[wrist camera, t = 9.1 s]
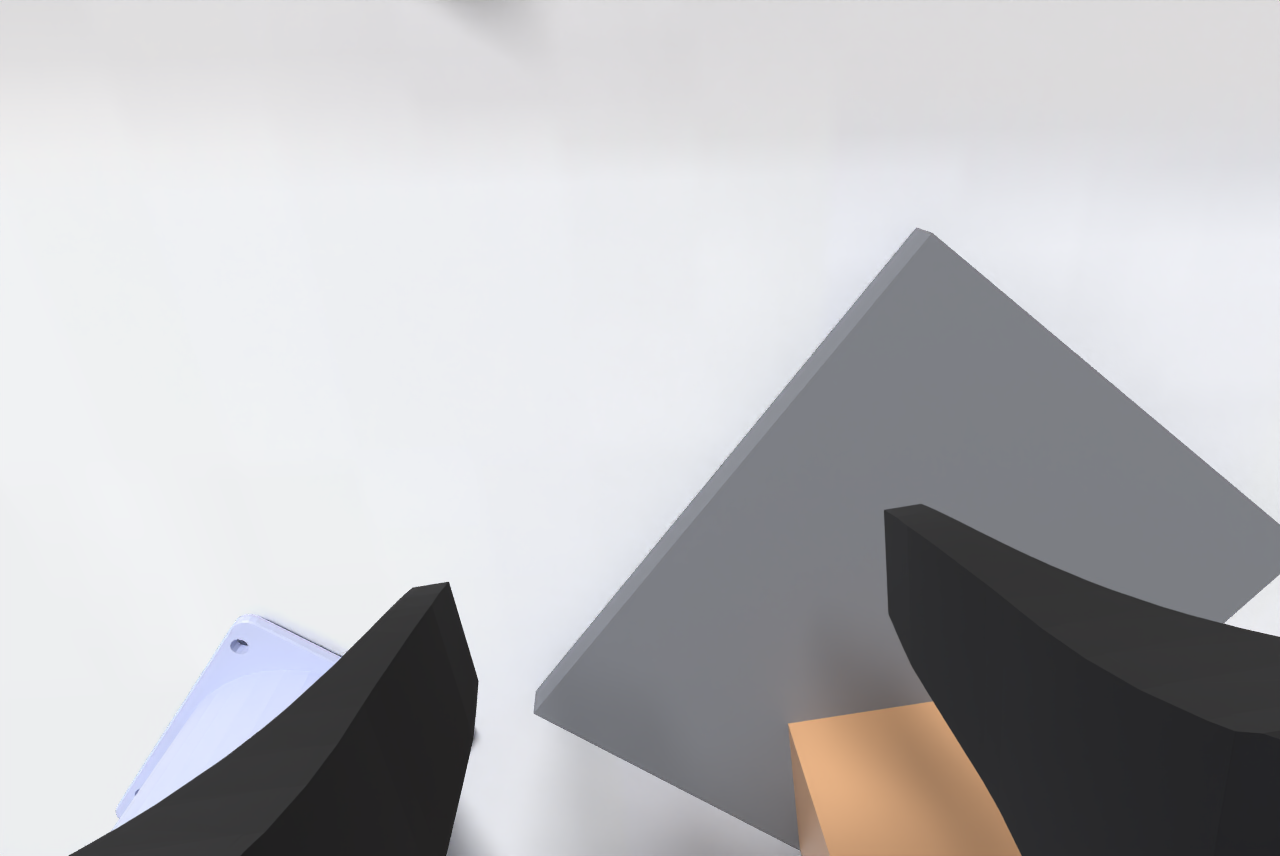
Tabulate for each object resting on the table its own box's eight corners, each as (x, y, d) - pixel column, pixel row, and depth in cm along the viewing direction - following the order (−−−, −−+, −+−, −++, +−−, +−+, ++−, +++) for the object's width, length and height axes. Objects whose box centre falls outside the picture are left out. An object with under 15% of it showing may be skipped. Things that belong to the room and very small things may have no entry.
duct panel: (892, 878, 29) (949, 1023, 24) (535, 691, 25) (521, 822, 20) (1280, 532, 24) (1445, 630, 19) (916, 227, 20) (1014, 259, 15)
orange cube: (959, 823, 26) (1055, 1009, 21) (799, 847, 27) (853, 1040, 21) (960, 697, 24) (1068, 866, 19) (788, 723, 24) (844, 900, 19)
